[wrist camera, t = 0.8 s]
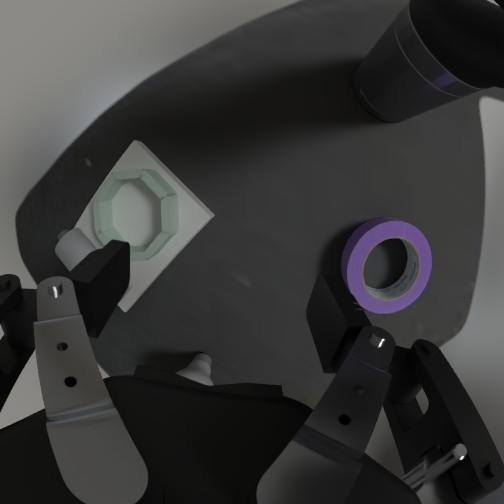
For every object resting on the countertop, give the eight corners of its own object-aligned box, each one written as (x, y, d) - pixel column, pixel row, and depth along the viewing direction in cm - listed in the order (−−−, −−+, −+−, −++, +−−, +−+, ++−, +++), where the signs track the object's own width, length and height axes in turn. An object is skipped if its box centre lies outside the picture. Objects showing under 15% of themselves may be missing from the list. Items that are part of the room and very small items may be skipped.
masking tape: (330, 295, 35) (336, 308, 31) (351, 207, 32) (360, 211, 28) (404, 306, 35) (415, 318, 31) (427, 227, 32) (441, 232, 28)
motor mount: (141, 141, 32) (113, 135, 25) (214, 215, 33) (199, 224, 27) (72, 241, 36) (43, 252, 29) (131, 307, 38) (108, 329, 31)
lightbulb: (218, 377, 40) (203, 428, 29) (181, 363, 40) (157, 411, 29) (229, 348, 38) (215, 401, 27) (189, 334, 38) (164, 382, 27)
